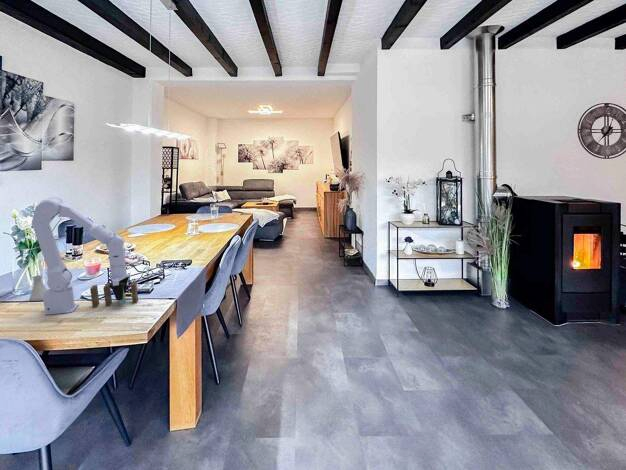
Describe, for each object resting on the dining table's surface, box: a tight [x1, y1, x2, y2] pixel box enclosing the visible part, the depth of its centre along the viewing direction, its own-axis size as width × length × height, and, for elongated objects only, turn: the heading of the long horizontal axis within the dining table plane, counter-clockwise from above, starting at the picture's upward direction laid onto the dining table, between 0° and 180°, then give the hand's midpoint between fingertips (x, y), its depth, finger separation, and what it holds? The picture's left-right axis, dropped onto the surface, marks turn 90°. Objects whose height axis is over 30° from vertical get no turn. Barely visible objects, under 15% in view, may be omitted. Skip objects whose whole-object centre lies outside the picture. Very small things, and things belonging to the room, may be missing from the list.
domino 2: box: [103, 283, 113, 307], centre depth 151 cm, size 2×4×8 cm, turn 17°
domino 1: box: [90, 284, 100, 308], centre depth 150 cm, size 2×4×8 cm, turn 16°
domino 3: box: [118, 289, 126, 306], centre depth 153 cm, size 2×4×8 cm, turn 16°
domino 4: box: [130, 281, 139, 304], centre depth 154 cm, size 2×4×8 cm, turn 16°
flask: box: [29, 274, 48, 302], centre depth 157 cm, size 7×7×10 cm
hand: (121, 296), depth 153 cm, fingers open, 7 cm apart
